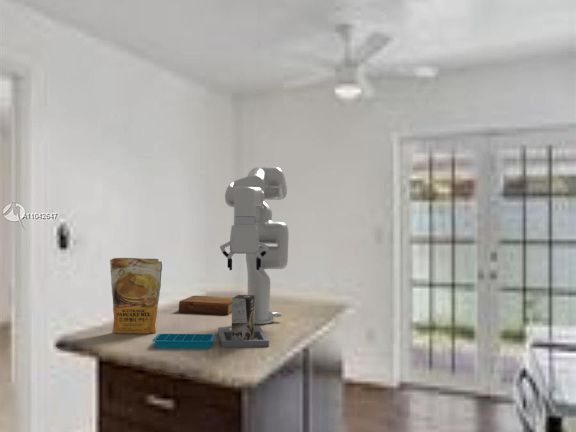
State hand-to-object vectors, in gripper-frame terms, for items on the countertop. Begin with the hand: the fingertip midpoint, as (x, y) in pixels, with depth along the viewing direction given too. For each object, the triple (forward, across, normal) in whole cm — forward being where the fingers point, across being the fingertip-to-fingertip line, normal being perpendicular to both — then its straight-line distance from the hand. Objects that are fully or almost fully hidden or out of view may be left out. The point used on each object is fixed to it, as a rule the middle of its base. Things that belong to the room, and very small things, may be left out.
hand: (244, 269), depth 208 cm
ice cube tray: (+26, +21, +4) cm, 33 cm away
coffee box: (+26, 0, 0) cm, 26 cm away
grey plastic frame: (+26, 0, -3) cm, 26 cm away
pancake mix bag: (+26, +39, -19) cm, 51 cm away
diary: (+27, +9, -64) cm, 70 cm away
